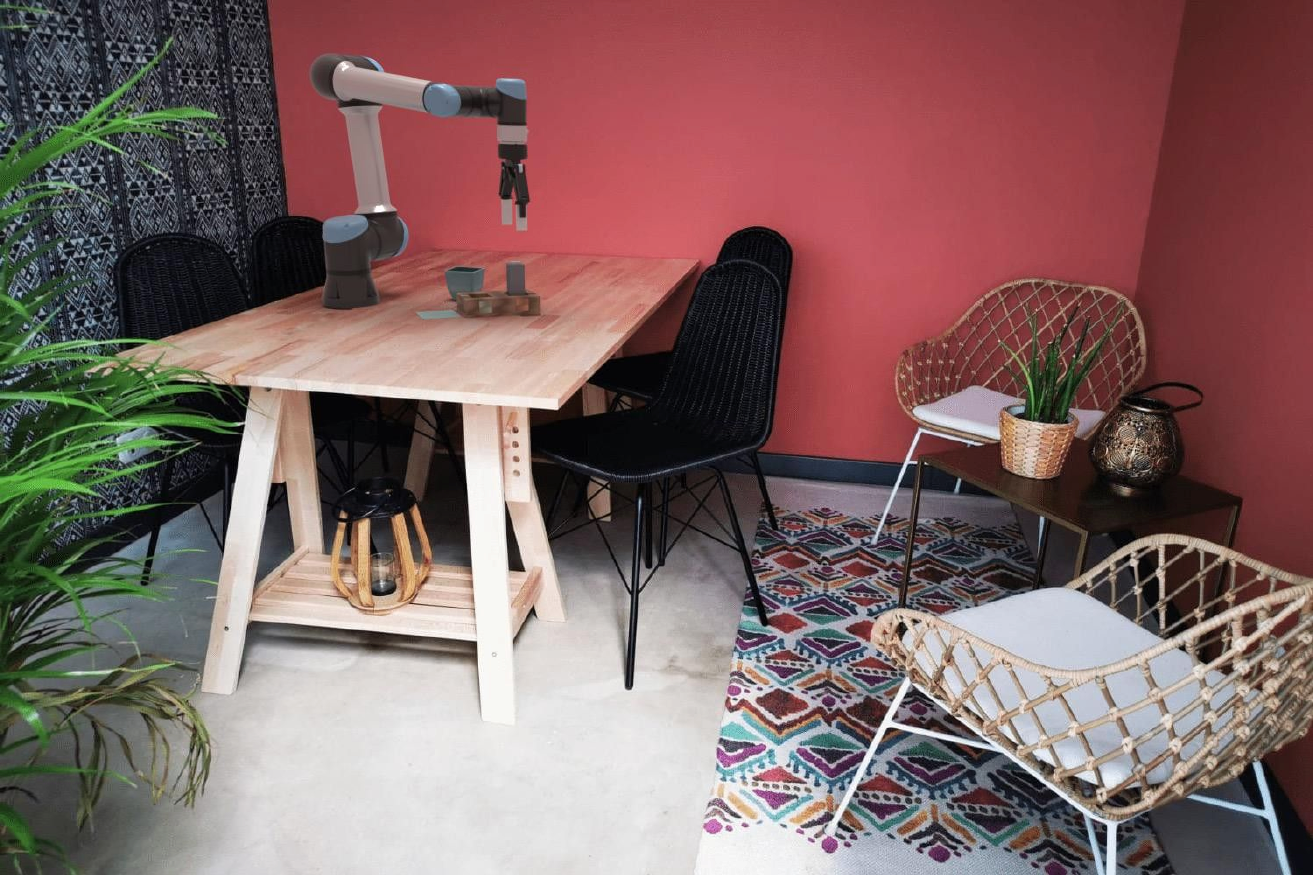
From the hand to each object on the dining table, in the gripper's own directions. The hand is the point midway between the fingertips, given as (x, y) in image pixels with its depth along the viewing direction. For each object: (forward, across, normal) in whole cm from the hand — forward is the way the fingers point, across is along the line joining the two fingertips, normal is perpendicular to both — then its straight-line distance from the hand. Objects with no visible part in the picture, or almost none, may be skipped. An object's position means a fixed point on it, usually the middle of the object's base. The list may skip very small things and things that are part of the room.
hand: (514, 227), depth 248 cm
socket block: (+22, 0, +5) cm, 23 cm away
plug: (+22, 0, 0) cm, 22 cm away
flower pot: (+23, +20, +9) cm, 32 cm away
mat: (+22, +1, +21) cm, 31 cm away
